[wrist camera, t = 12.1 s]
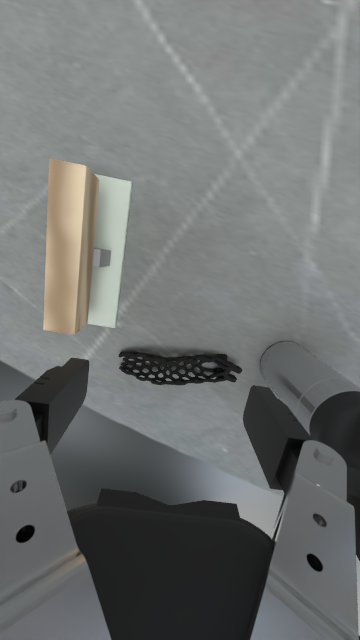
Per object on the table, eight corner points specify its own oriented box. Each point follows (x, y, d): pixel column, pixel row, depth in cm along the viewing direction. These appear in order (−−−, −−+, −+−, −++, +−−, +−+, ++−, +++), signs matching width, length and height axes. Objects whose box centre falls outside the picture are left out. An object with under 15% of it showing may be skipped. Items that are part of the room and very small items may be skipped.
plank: (99, 179, 31) (86, 165, 26) (87, 323, 36) (74, 334, 31) (68, 173, 31) (49, 158, 26) (60, 319, 36) (43, 329, 31)
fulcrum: (132, 183, 38) (123, 167, 31) (116, 326, 44) (105, 339, 37) (68, 170, 37) (45, 151, 30) (60, 317, 43) (39, 329, 36)
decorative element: (121, 369, 46) (114, 385, 41) (121, 345, 45) (114, 358, 39) (234, 374, 47) (242, 391, 42) (237, 351, 46) (247, 364, 40)
